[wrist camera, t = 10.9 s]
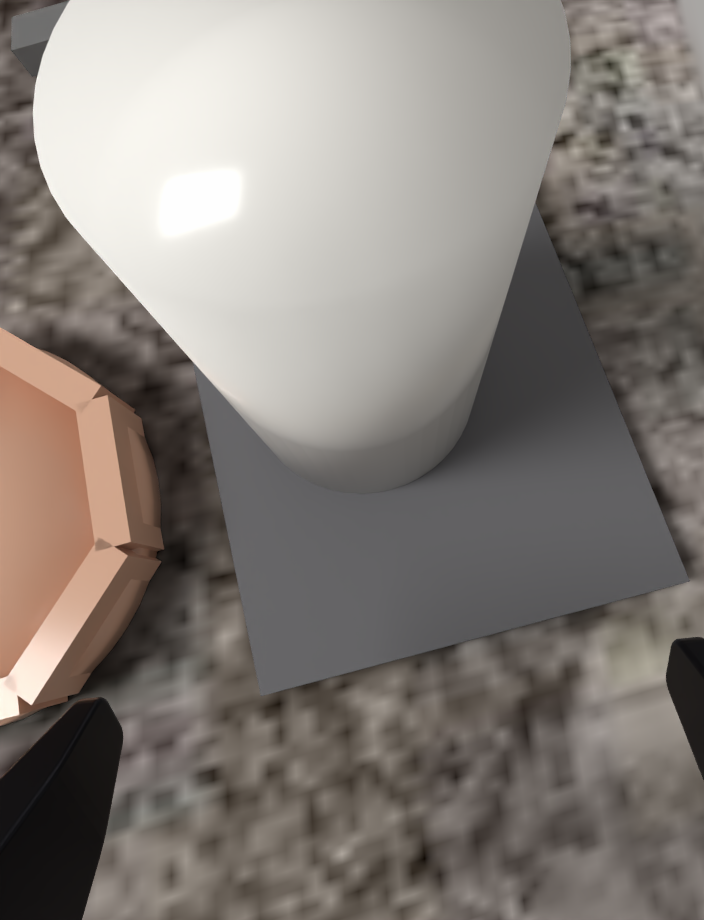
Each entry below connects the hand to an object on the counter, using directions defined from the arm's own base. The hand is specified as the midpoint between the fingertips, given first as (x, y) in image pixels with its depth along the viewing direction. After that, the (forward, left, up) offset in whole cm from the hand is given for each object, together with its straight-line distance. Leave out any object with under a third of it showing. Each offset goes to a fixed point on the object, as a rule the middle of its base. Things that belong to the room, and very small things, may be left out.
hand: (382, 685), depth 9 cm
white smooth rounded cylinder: (+8, -1, -7) cm, 11 cm away
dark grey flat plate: (+8, -2, -8) cm, 11 cm away
